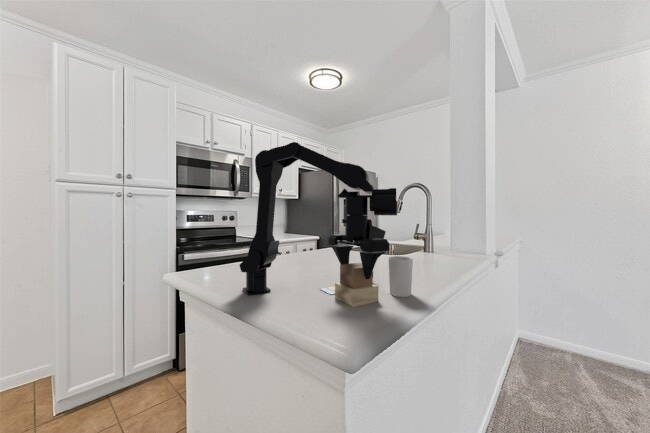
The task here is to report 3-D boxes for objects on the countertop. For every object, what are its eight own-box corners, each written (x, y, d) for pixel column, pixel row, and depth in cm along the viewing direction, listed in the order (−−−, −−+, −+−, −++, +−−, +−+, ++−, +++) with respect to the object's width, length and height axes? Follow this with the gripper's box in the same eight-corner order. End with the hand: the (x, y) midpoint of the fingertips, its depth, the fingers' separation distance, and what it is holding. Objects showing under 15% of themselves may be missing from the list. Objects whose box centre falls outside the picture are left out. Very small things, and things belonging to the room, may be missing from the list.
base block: (335, 298, 72) (335, 283, 72) (358, 293, 76) (358, 279, 76) (353, 307, 65) (353, 290, 65) (378, 301, 70) (378, 285, 69)
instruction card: (319, 289, 80) (319, 288, 80) (344, 285, 85) (344, 284, 85) (330, 294, 75) (330, 293, 75) (356, 290, 80) (356, 289, 80)
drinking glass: (397, 298, 72) (397, 260, 72) (383, 291, 78) (383, 257, 78) (417, 295, 74) (418, 259, 74) (403, 289, 81) (403, 255, 81)
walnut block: (340, 283, 72) (340, 264, 72) (358, 280, 75) (358, 262, 75) (353, 288, 67) (353, 268, 67) (372, 285, 70) (372, 266, 70)
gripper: (406, 215, 67) (405, 279, 67) (358, 215, 83) (358, 266, 83) (371, 215, 61) (370, 285, 61) (327, 215, 77) (327, 270, 77)
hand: (356, 275), depth 71 cm, fingers open, 9 cm apart
